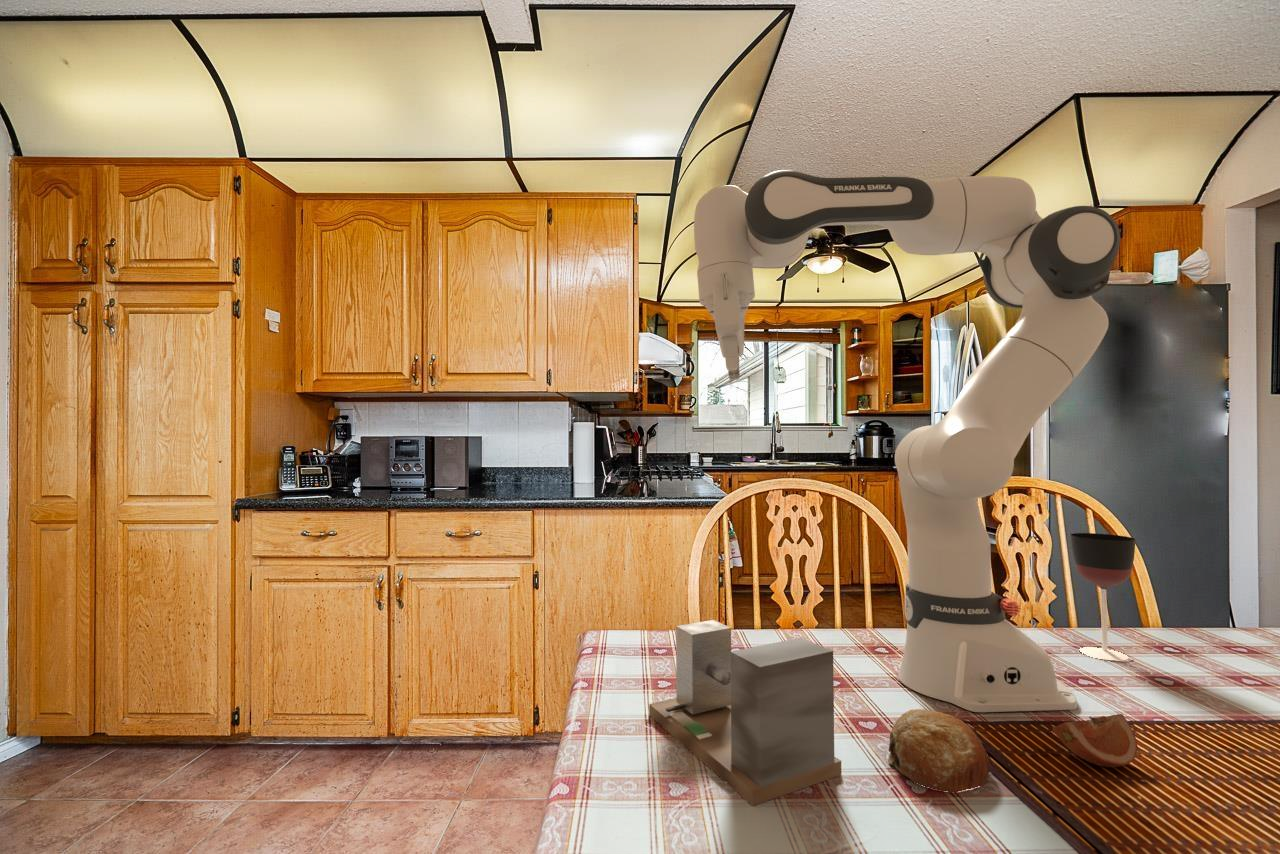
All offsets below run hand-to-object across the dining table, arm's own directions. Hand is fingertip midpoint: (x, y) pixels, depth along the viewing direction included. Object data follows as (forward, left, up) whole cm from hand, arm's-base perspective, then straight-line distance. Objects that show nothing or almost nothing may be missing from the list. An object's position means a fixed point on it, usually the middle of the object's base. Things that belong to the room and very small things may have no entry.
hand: (733, 374), depth 93 cm
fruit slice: (-40, +19, -47) cm, 65 cm away
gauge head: (+5, +17, -45) cm, 48 cm away
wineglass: (-63, -18, -47) cm, 80 cm away
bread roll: (-22, +23, -47) cm, 57 cm away
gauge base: (0, +21, -47) cm, 51 cm away
